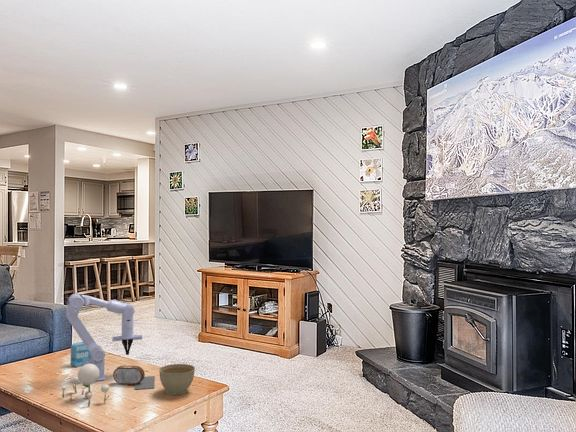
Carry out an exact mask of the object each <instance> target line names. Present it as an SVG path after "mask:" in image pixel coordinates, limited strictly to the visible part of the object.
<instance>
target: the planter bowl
mask: <svg viewBox="0 0 576 432" xmlns="http://www.w3.org/2000/svg"><path fill="white" fill-rule="evenodd" d="M158 371H159V379H160V383H161V385H162V387H163V388H164V389H165V393H166V394H167V395H171V396H177V395H178V396H180V395H184V394H185V393H187V392H188V389H189V388H190V386H191V384H192V383H193V382H194V381H193V380H194V377H195V371H196V367H195V366H194V365H191V364H187V363H173V364H167V365H164V366H161V367H160V368H159V370H158Z"/></svg>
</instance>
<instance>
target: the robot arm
mask: <svg viewBox="0 0 576 432" xmlns="http://www.w3.org/2000/svg"><path fill="white" fill-rule="evenodd" d="M89 305H92V306H95V307H96V306H97V307H101V308H104V309H106V310H107V312H111V313H114V314H115V313H116V314H118V315H120V314H121V335H118V336H112V342H118V341H119V342H121V344H122V345H123V348H124V351H125V356H128V355H130V349H131V347H132V345H133V342H134V341H136V340H137V341H138V340H140V341H141V340H143V334H134V315H135V311H136V310H135V308H134V306H133V305H132V304H130V303H128V302H127V303H126V302H124V301H123V302H121V301H117V299H115V298H114V299H110V300H108V301H107V300H105V299H100V298H98V297H94V296H90V295H87V294H79V293H72V294H71V295H69V298H68V299H67V302H66V315H65V318H66V319H67V320H68V322H69V324H70V325H71V326H72V328H73V329H74V330H75V332H76V334H77V336H79V338H80V339H81V342H84V344H85V345H86V347H87V348H88V350H89V354H90V356H91V358H90V359H89V361H86V362H85V364H84V365H86V364H94V365H96V366H97V367H98V369H99V378H98V379H97V381H98V382H99V381H105V379H106V376H107V375H106V374H105V360H106V359H105V357H106V353H105V351H104V350H103V348H102V346H101V345H98V344H97V343H96V341H95V339H94V338H93V336H92V335H91V333H90V332H89V331H88V330H87V328H86V326H85V324H84V323H83V322H82V320H81V319H80V317H79V313H80V310H82V308H83V306H85V307H86V306H89ZM97 381H96V382H97Z"/></svg>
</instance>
